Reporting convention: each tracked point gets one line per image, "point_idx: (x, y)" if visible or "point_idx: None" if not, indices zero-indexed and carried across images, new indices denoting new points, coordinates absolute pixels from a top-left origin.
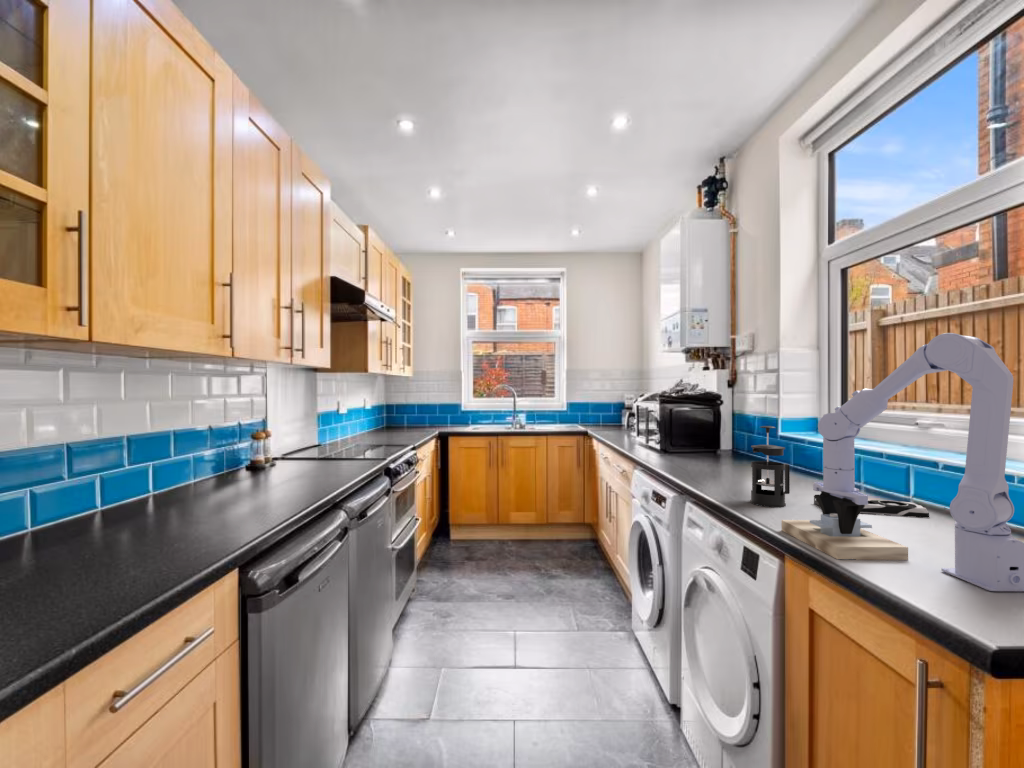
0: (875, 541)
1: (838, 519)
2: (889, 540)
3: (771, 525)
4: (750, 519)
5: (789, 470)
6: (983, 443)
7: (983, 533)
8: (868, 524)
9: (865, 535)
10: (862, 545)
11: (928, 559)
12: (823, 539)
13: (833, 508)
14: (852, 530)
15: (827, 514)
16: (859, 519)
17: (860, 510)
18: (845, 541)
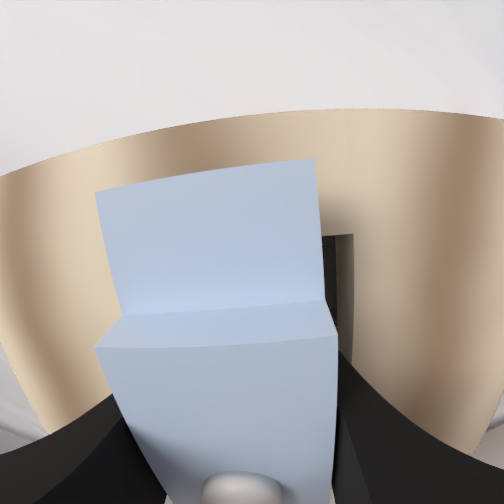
0: (463, 250)
1: (336, 495)
2: (440, 123)
3: (37, 425)
4: (5, 432)
5: None
6: None
7: None
8: (278, 178)
9: (322, 228)
10: (498, 365)
11: (467, 21)
12: None
13: (120, 498)
14: (349, 362)
15: (172, 493)
16: (334, 341)
17: (492, 475)
18: (435, 416)
